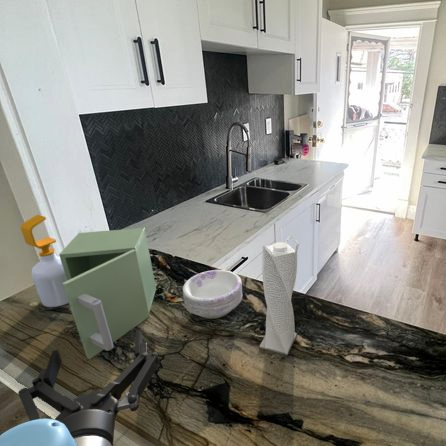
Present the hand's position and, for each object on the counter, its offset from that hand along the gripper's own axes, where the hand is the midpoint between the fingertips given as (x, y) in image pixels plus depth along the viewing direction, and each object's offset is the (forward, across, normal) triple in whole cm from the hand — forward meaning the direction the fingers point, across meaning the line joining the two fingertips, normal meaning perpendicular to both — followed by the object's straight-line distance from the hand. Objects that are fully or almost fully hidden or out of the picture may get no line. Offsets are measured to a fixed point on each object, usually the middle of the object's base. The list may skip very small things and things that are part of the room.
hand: (100, 344), depth 60 cm
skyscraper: (-4, +36, -10) cm, 37 cm away
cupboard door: (+11, +3, -10) cm, 15 cm away
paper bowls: (+16, +24, -10) cm, 30 cm away
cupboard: (+27, 0, -10) cm, 28 cm away
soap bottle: (+36, -15, -10) cm, 41 cm away
